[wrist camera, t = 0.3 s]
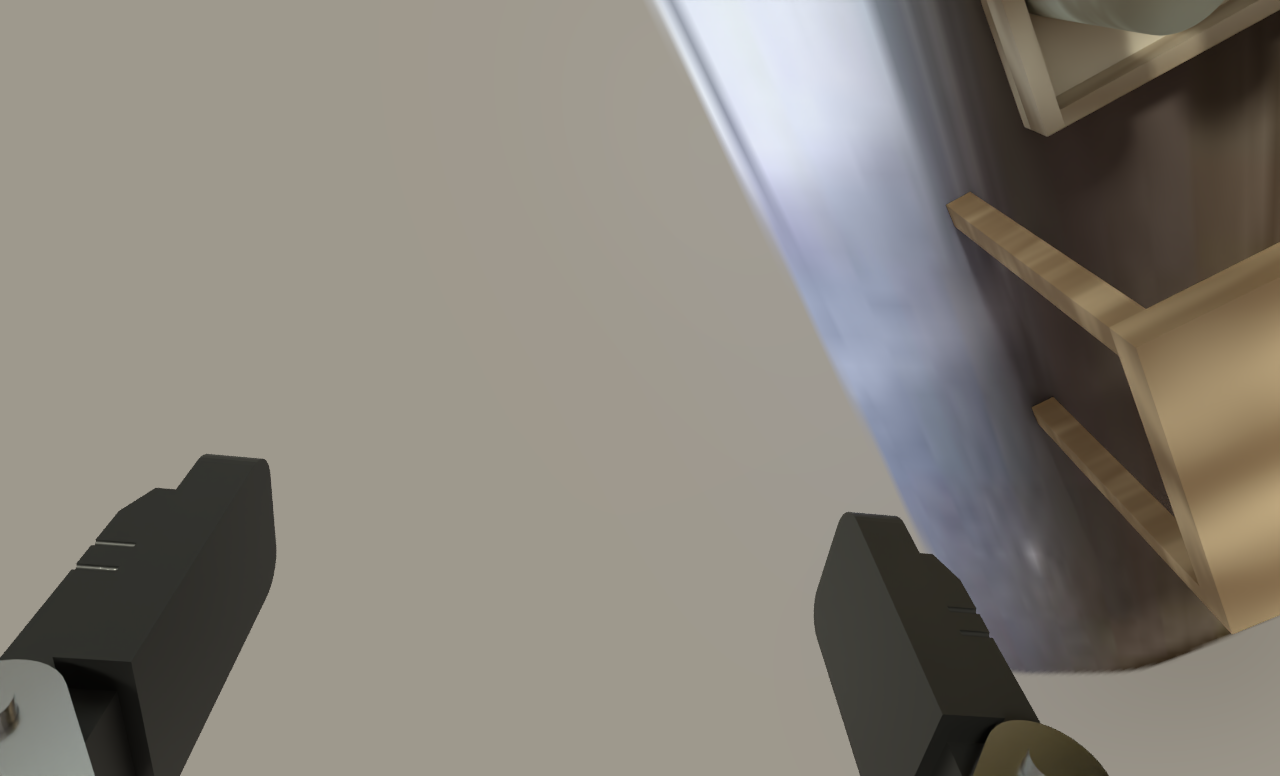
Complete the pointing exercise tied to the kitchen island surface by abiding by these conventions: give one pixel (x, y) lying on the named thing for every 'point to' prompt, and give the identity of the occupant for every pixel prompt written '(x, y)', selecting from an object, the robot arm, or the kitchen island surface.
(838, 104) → the kitchen island surface
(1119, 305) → the oak shelf
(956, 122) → the kitchen island surface
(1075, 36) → the tray
